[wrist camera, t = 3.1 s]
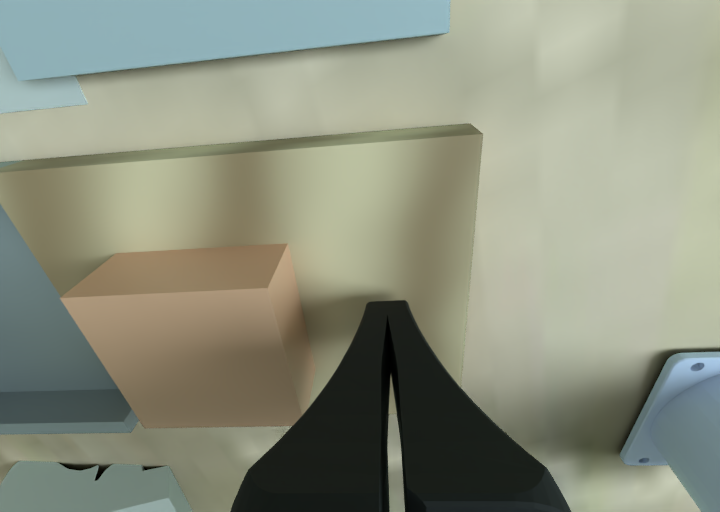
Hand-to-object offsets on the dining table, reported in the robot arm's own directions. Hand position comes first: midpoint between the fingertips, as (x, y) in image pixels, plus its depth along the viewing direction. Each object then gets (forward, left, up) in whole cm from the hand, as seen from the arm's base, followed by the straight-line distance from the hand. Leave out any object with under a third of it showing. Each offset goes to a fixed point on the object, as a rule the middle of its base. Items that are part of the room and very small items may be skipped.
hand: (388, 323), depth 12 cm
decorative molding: (+20, +30, -3) cm, 36 cm away
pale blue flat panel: (+4, -9, -3) cm, 11 cm away
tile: (+6, 0, -1) cm, 6 cm away
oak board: (+5, 0, -2) cm, 5 cm away
